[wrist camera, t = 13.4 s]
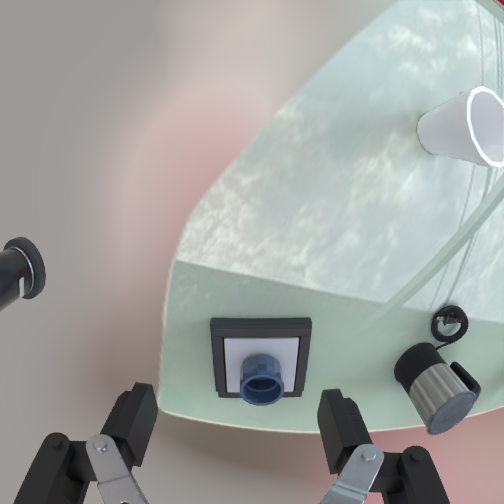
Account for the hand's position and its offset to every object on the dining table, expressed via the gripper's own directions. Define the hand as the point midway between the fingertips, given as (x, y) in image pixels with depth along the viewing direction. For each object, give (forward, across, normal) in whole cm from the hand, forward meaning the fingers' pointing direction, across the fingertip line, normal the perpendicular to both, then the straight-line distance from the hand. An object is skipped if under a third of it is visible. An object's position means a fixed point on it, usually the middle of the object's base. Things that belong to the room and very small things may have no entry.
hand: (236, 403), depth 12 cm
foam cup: (+26, -27, -18) cm, 42 cm away
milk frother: (+26, -33, +16) cm, 45 cm away
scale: (+26, -2, +16) cm, 31 cm away
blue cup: (+23, -2, +16) cm, 28 cm away
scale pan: (+24, -2, +16) cm, 29 cm away
